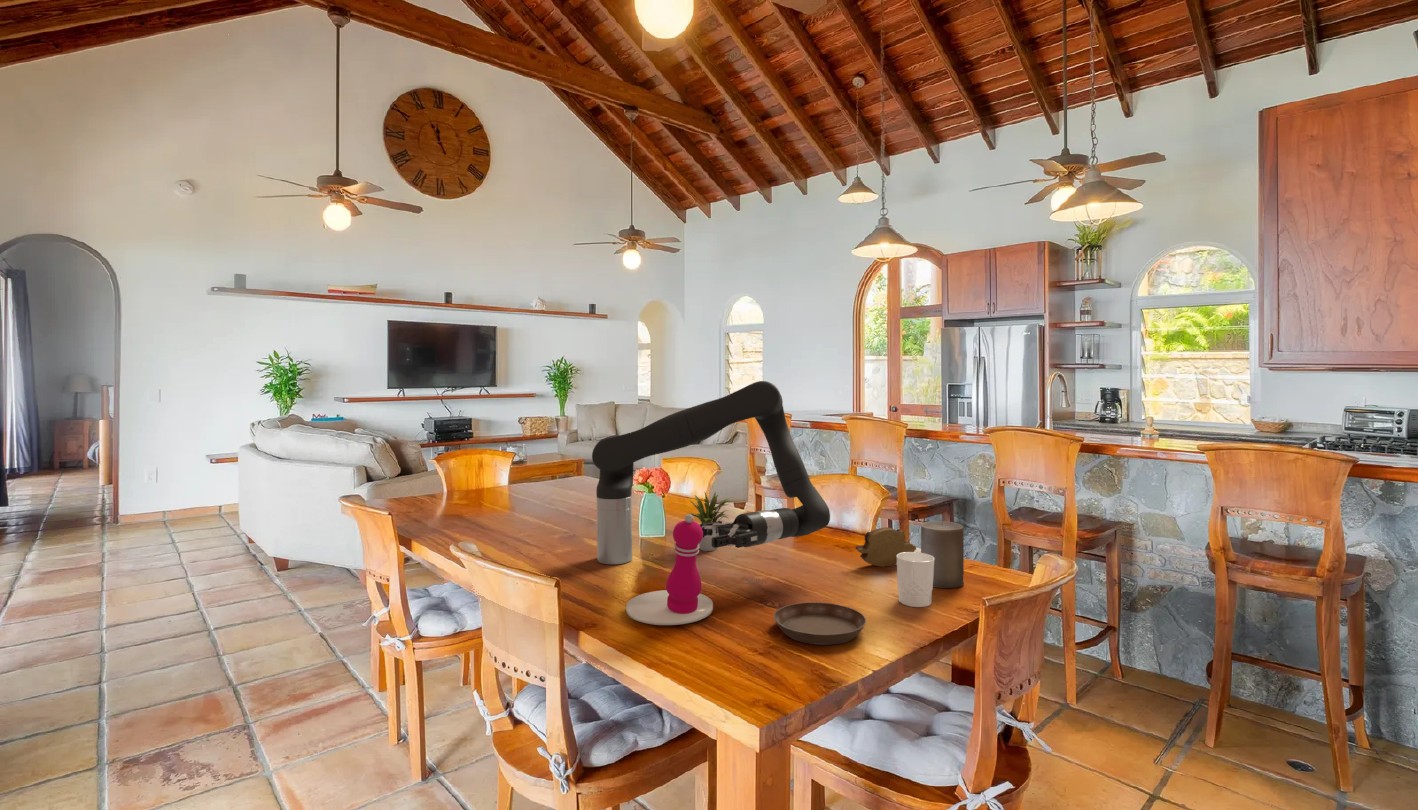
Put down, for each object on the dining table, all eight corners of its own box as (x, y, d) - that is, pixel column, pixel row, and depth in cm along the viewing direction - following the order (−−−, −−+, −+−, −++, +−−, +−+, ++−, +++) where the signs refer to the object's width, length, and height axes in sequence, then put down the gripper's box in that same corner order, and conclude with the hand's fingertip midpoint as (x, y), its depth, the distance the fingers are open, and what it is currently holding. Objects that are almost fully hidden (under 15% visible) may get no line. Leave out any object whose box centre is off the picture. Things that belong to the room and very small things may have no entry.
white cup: (914, 611, 140) (915, 563, 140) (888, 599, 147) (888, 554, 147) (942, 604, 144) (942, 558, 143) (915, 593, 151) (915, 550, 150)
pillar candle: (970, 581, 159) (970, 519, 158) (953, 591, 152) (953, 526, 151) (931, 574, 166) (931, 513, 165) (913, 583, 159) (913, 520, 158)
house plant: (735, 556, 181) (735, 497, 180) (684, 556, 182) (684, 497, 181) (734, 543, 196) (734, 487, 195) (687, 543, 196) (686, 487, 195)
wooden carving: (906, 560, 178) (907, 522, 177) (917, 564, 173) (917, 526, 173) (852, 566, 172) (852, 527, 172) (861, 571, 168) (861, 531, 168)
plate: (612, 607, 143) (612, 599, 143) (685, 592, 152) (685, 584, 152) (650, 636, 127) (650, 626, 127) (729, 617, 137) (729, 608, 137)
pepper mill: (658, 609, 135) (665, 516, 130) (673, 593, 141) (680, 504, 137) (691, 619, 132) (699, 524, 128) (705, 602, 139) (713, 512, 134)
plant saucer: (771, 614, 139) (771, 600, 139) (856, 615, 138) (856, 601, 138) (776, 650, 121) (776, 633, 121) (875, 651, 121) (875, 634, 121)
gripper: (738, 506, 159) (681, 515, 149) (779, 516, 147) (720, 527, 138) (738, 537, 159) (682, 549, 150) (779, 550, 148) (721, 563, 138)
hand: (700, 538), depth 144 cm, fingers open, 8 cm apart
